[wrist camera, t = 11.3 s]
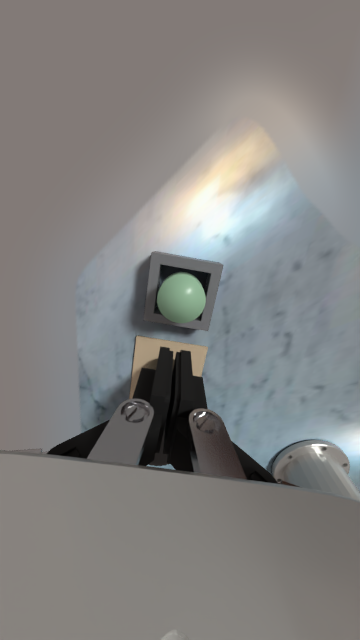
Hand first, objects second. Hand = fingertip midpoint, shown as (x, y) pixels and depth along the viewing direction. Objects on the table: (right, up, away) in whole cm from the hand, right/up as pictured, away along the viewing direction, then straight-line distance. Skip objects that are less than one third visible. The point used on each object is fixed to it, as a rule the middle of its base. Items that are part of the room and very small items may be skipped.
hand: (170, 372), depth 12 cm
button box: (+1, +7, +16) cm, 18 cm away
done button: (+1, +6, +14) cm, 15 cm away
